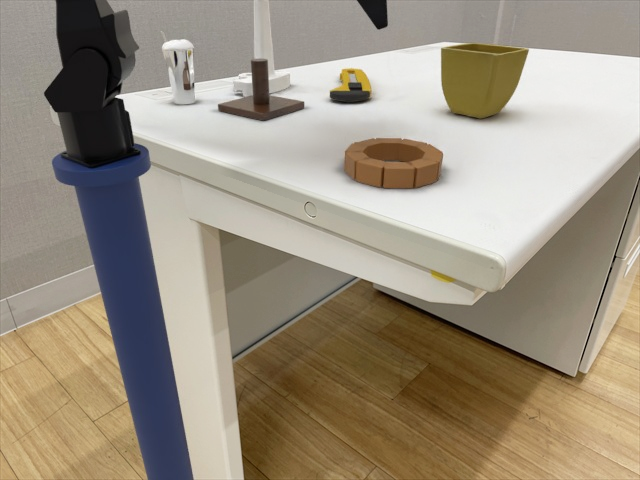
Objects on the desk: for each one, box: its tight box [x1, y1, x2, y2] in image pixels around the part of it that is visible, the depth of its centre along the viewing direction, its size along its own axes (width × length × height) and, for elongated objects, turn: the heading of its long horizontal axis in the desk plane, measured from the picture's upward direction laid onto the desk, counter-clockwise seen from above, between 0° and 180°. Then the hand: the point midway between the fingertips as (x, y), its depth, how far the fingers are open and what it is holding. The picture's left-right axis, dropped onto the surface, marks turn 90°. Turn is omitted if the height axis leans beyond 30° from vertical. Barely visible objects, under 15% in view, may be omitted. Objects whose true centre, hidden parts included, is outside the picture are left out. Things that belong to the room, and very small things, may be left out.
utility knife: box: [329, 67, 372, 103], centre depth 86 cm, size 7×22×2 cm, turn 0°
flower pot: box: [440, 42, 530, 119], centre depth 70 cm, size 9×9×9 cm
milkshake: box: [160, 31, 196, 106], centre depth 75 cm, size 4×5×10 cm
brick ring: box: [343, 137, 444, 189], centre depth 51 cm, size 10×10×2 cm
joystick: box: [232, 0, 291, 98], centre depth 81 cm, size 11×8×20 cm
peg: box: [217, 58, 305, 122], centre depth 72 cm, size 9×9×7 cm
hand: (380, 21), depth 54 cm, fingers open, 9 cm apart
